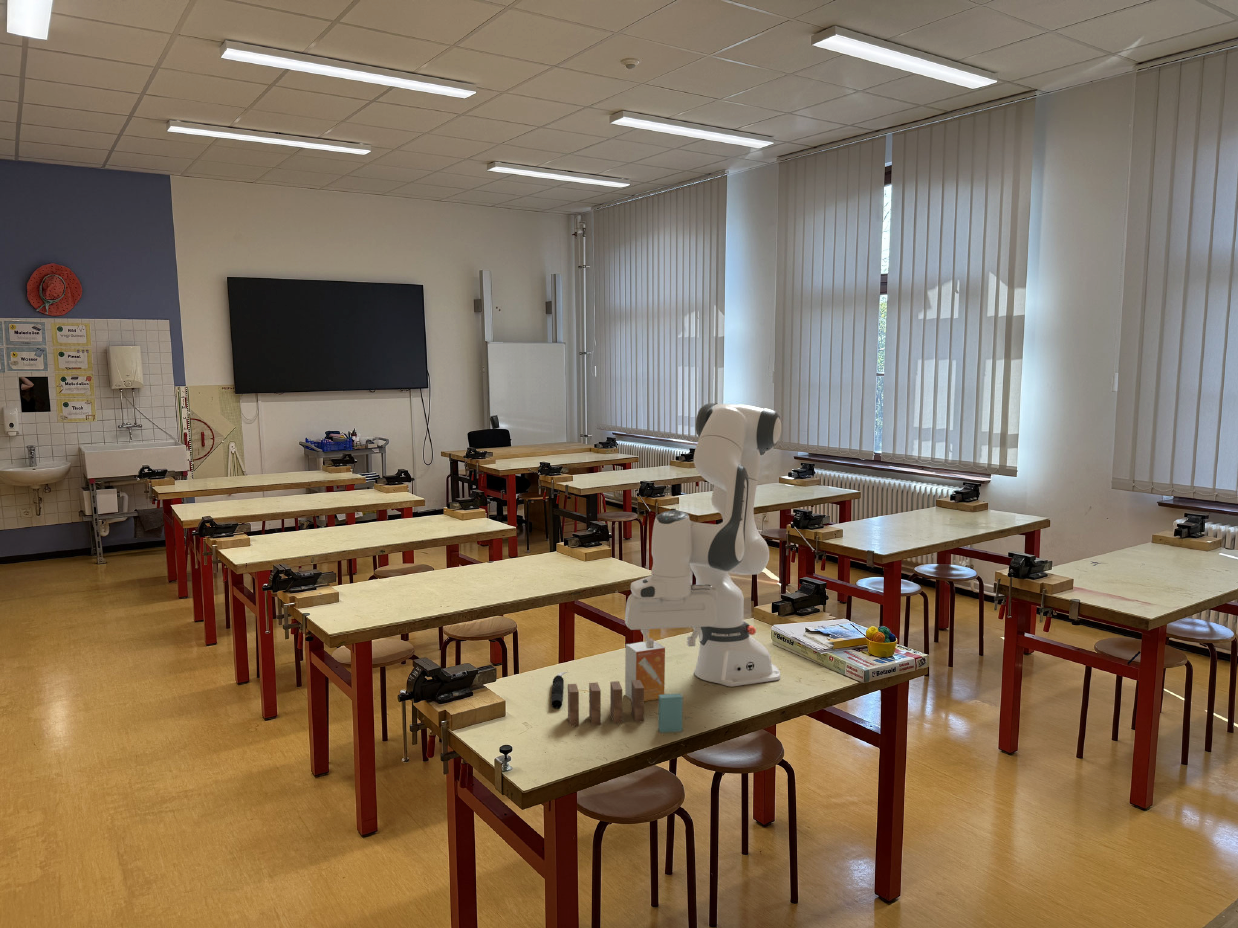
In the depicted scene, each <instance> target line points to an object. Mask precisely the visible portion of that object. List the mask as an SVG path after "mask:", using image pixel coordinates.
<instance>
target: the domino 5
mask: <svg viewBox="0 0 1238 928" xmlns="http://www.w3.org/2000/svg"><path fill="white" fill-rule="evenodd" d="M683 699H684V698H683V695H682V694H681V693H667V694H665V693H664V694H663V695H659V699H658V729H657V730H658V731H659V733H661V734H662V733H673V732H674V733H675V732H676V733H677V732H683Z"/></svg>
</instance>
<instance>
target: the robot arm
mask: <svg viewBox="0 0 1238 928" xmlns="http://www.w3.org/2000/svg"><path fill="white" fill-rule="evenodd" d="M695 432H696V435H697V436H698V441H697V444H696V446H695V450H694V454H693V464H694V468H695V469H696V471H697V473H698V474H699V476H701V478H702V479H704V480H705V481H706V482H708V483H709V484H711V485H713V489H712V492H711V493H712V494H711V505H712V507H713V508H714V509H715V510H716V511H717V512H718V513H719V514H720V515H721V518H722V522H720V523H718V524H715V523H714V524H713V523H706V522H705V523H703V522H697V521H693V520H690V515H689V514H688V513H687V512H686V511H683V510H668V511H663V512H661V513H659V514H657V515H656V516H655V519H654V522H653V525H652V536H651V556H652V567H651V569H650V570H651V573H650V574H651V575H648V576H646V577H644V578H640V579H638V580H635V581H633V582H631V583H630V591H631V593H630V595H629V596H628V598H627V600H626V605H625V613H624V614H625V615H624V623H625V625H626V627H627V628H628V629H629V630H631V631H633V630H637V631H638V630H639V631H640V632H641V634H642V635H643V637H644V639H645V642H646V648H654V645H653V644H654V641H655V640H654V639H653V638H652V637H651V638H649V636H648V634H649V632H650V631H649V630H658V629H660V630H661V629H682V628H692V630H693V631H692V634H691V635H690V636H687V639H686V640H687V641H686V644H687V646H688V647H696V640H697V638H698V641H699V650H698V657H697V662H696V664H695V665H696V666H695V669H694V671H693V673H694V675H695V676H696V677H697V678H699V679H701V680H703V681H707V682H710V683H715V684H716V683H717V684H719V685H723V686H726V687H738V686H743V685H744V686H745V685H753V684H760V683H764V682H765V683H766V682H773V681H779V680H781V672H780V669H779V668H778V667H777V666H776V665H775V664H773V663H772V658H771V655H770V652H769V651H768V649H767V648H766V647H765V646H764V645H763V644H761V643H760V641H758V640H756V639H755V638H754V637H753V635H756V633H757V629H756V628H755V627H754V626H753V625H751V624H750V623H748V622H746V621H744V600H745V599H744V594H743V591H742V590H741V588H739V586H737V585H736V584H735V583H734V581H733V580H732V578H731V577H730V575H729V573H730V574H735V575H740V576H741V575H742V576H744V575H745V576H746V575H747V576H749V575H758V574H760V573H762V572H763V571H764V570H765V569H766V567H767V566H768V563H769V560H770V548H769V545H768V544H767V541H766V540H765V539H764V538H763V537H762V535H761V534H760V532H759V530H758V528H757V525H756V521H755V515H754V511H755V509H754V508H755V507H754V506H755V499H756V492H757V486H758V481H759V480H758V479H759V475H760V462H761V459H760V458H761V456H763V455H765V453H766V452H767V451H770V450H772V449H773V448H774V447H775V446H776V445H778V444H777V443H778V442H779V441H778V440H779V439H780V437H781V433H782V422H781V417H780V415H779V413H778V412H777V411H776V410H773V409H770V408H767V407H764V408H761V407H758V406H754V405H749V404H743V403H741V404H734V403H718V402H711V403H710V402H709V403H706V404H704V405H703V406H701V407H700V408H699V410H698V412H697V416H696V418H695ZM692 572H693V575H694V576H695V579H696V582H697V584H692ZM653 640H654V641H653Z"/></svg>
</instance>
